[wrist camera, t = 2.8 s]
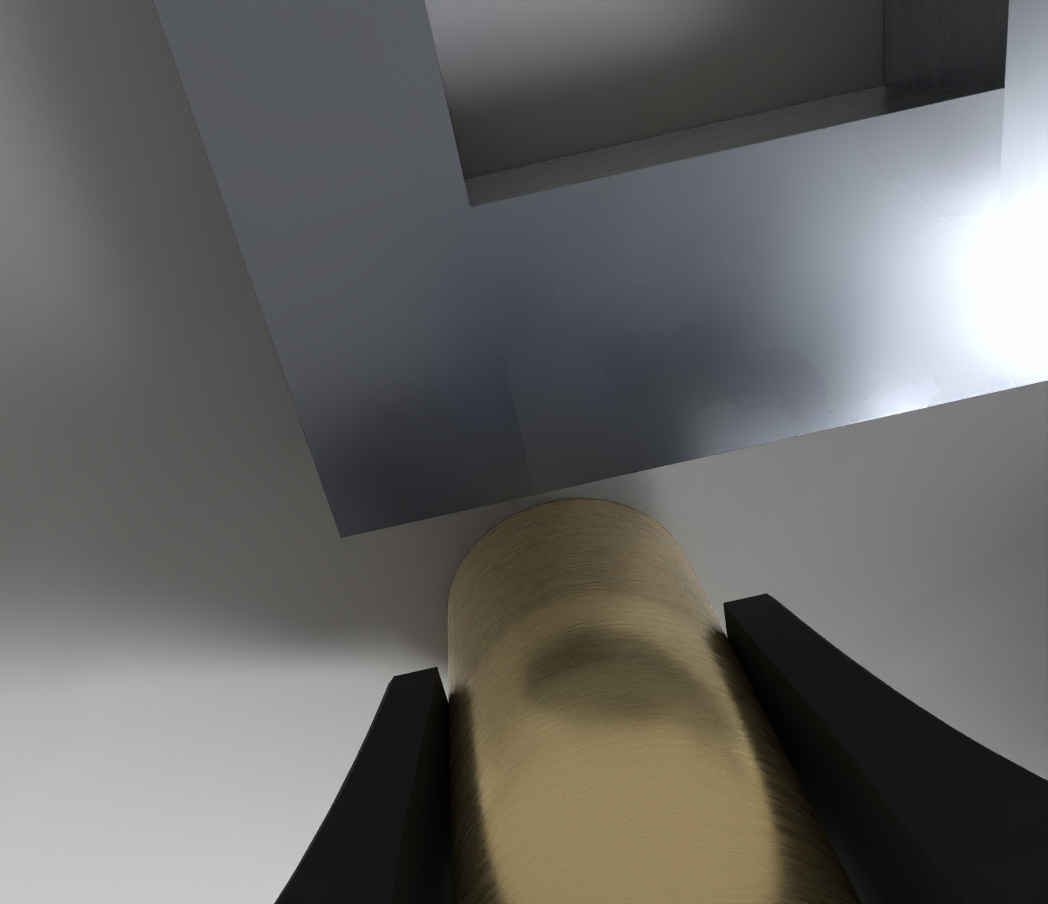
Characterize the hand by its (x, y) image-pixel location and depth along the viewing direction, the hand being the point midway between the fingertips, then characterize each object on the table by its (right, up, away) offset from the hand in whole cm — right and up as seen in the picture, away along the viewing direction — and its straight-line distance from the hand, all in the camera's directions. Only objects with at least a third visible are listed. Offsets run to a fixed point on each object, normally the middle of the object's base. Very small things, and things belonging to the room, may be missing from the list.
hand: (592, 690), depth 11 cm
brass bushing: (0, +1, +2) cm, 2 cm away
